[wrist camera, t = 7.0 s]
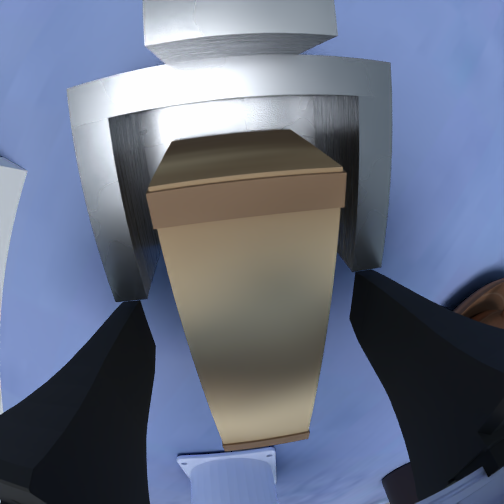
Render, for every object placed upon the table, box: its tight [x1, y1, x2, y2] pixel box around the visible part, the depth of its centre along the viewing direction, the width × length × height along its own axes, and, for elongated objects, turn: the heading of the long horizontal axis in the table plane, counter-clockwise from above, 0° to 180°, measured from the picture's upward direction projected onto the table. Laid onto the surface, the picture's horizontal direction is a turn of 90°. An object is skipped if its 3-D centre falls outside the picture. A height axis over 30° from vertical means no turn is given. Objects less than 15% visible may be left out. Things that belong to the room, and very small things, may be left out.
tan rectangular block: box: [146, 129, 347, 451], centre depth 11 cm, size 13×4×5 cm, turn 4°
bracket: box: [67, 0, 392, 302], centre depth 8 cm, size 7×8×7 cm
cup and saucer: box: [453, 278, 504, 329], centre depth 16 cm, size 12×12×6 cm
